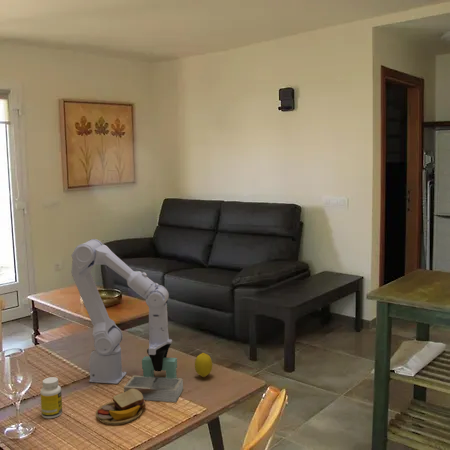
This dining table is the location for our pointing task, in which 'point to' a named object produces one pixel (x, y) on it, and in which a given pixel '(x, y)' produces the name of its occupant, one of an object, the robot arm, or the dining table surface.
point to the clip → (167, 366)
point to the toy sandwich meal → (122, 408)
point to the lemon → (203, 364)
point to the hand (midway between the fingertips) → (159, 368)
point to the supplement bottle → (51, 398)
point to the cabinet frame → (156, 387)
